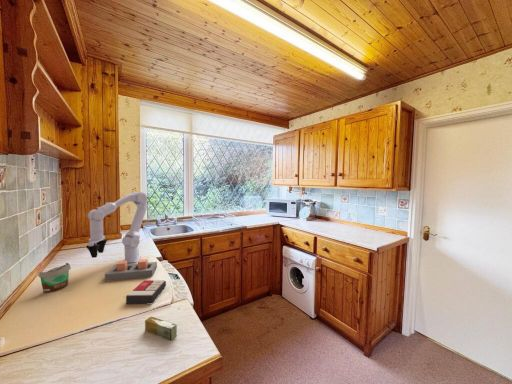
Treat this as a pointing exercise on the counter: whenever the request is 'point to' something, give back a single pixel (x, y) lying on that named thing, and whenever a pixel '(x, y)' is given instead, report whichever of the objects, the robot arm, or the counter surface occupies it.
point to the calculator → (146, 292)
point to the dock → (132, 271)
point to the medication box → (161, 328)
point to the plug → (122, 266)
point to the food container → (55, 278)
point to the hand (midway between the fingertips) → (97, 254)
